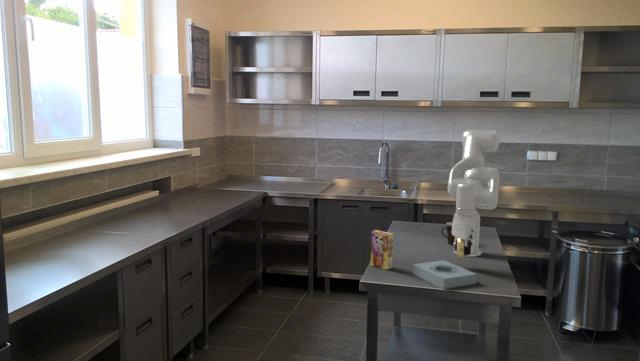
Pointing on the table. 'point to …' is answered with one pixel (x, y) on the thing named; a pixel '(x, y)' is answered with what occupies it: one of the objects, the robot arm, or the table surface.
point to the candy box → (382, 249)
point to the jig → (444, 274)
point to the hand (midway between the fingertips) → (462, 252)
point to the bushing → (461, 248)
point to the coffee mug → (449, 233)
